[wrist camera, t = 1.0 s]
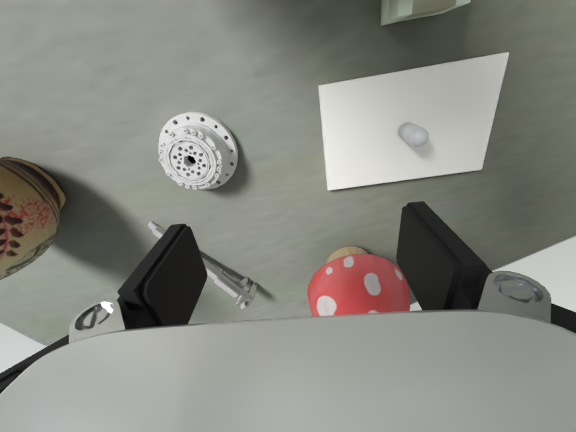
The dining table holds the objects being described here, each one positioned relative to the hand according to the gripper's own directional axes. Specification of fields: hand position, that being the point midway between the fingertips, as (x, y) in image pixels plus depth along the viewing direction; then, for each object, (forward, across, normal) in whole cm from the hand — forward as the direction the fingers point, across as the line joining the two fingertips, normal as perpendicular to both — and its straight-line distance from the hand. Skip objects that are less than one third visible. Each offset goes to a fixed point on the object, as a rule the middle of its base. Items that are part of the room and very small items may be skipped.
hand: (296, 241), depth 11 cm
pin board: (+24, -13, +1) cm, 27 cm away
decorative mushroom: (+24, -6, +21) cm, 32 cm away
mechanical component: (+24, +13, +1) cm, 27 cm away
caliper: (+24, +17, +18) cm, 35 cm away
